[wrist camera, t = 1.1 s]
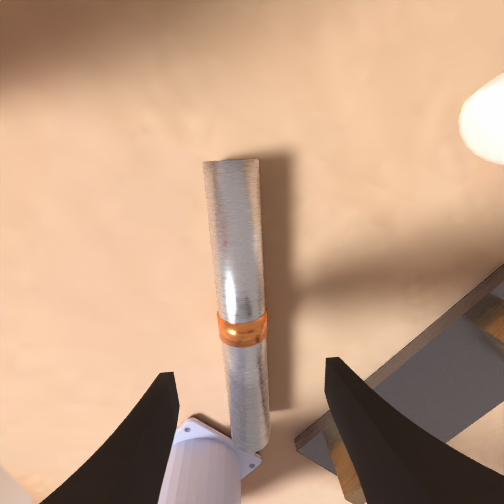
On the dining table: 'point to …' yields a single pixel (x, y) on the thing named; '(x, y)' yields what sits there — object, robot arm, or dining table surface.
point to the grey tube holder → (431, 380)
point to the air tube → (240, 295)
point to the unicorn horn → (485, 121)
